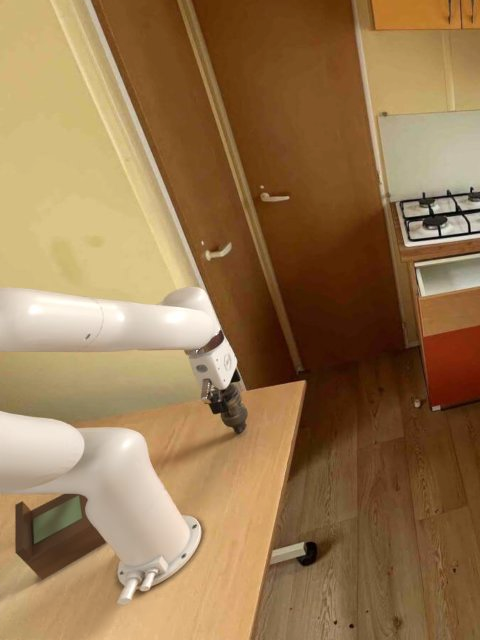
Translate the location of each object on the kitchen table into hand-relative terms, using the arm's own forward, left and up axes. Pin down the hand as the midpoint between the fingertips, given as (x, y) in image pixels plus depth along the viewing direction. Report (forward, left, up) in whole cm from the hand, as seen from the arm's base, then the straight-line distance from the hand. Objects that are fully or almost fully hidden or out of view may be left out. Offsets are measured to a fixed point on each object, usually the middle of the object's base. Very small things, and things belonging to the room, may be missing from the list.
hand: (227, 396), depth 100 cm
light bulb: (0, 0, -12) cm, 12 cm away
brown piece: (-19, +25, -11) cm, 34 cm away
